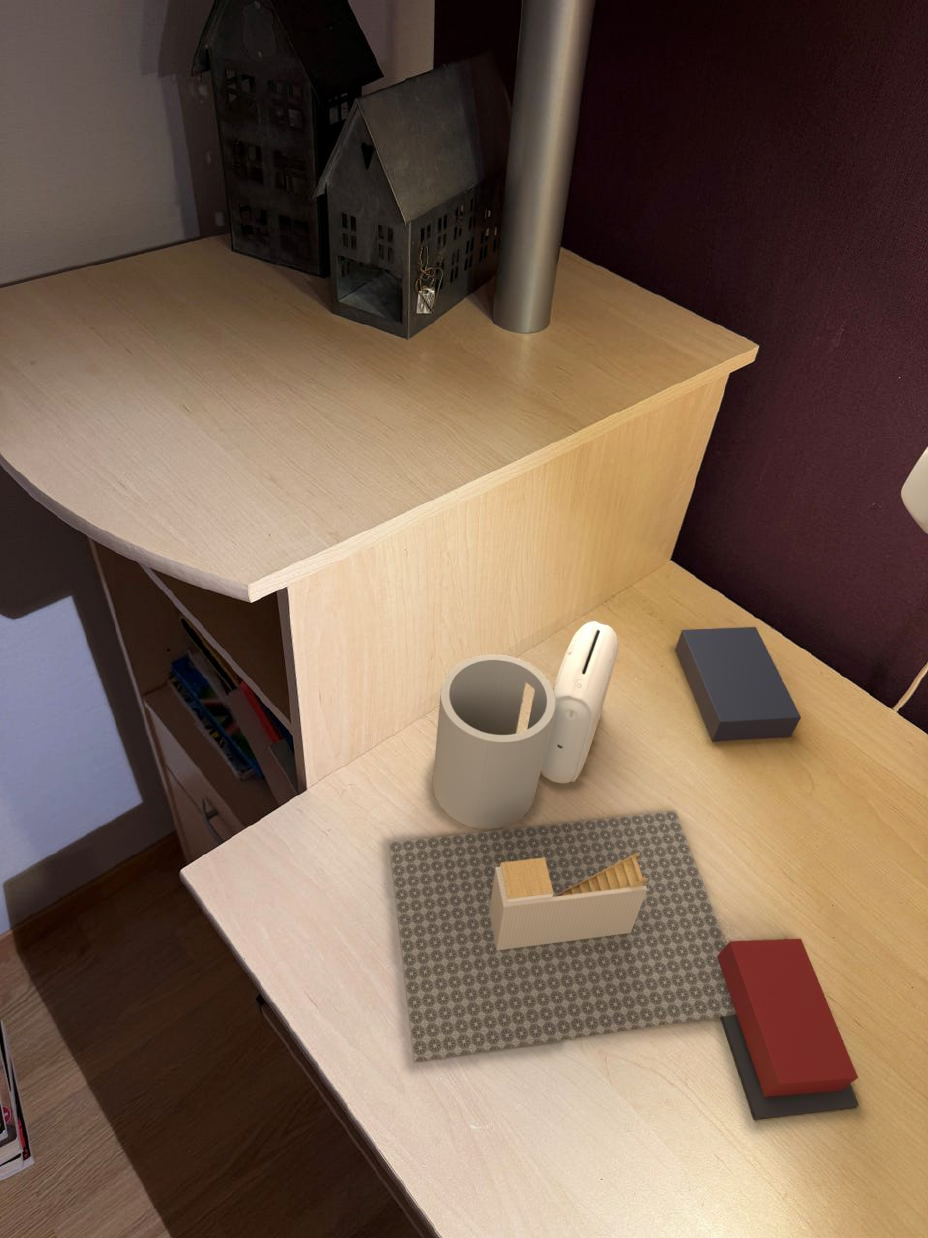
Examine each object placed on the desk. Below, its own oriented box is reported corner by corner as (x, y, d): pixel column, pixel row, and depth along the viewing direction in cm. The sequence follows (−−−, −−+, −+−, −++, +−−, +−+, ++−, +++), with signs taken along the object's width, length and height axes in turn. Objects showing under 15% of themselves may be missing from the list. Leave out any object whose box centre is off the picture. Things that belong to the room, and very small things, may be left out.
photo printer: (576, 792, 80) (602, 701, 72) (530, 776, 81) (550, 685, 73) (603, 709, 87) (629, 618, 79) (560, 696, 88) (581, 604, 80)
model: (489, 911, 71) (496, 860, 66) (619, 895, 73) (636, 844, 68) (496, 950, 69) (504, 901, 64) (630, 933, 71) (649, 883, 65)
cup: (419, 811, 78) (425, 722, 69) (450, 732, 84) (460, 642, 76) (521, 842, 76) (540, 755, 68) (545, 759, 83) (566, 671, 74)
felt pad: (790, 944, 72) (793, 940, 71) (856, 1108, 63) (859, 1105, 63) (699, 952, 70) (701, 949, 70) (753, 1121, 62) (756, 1118, 62)
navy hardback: (674, 649, 94) (681, 629, 92) (747, 646, 95) (755, 626, 93) (711, 742, 86) (720, 721, 84) (791, 737, 87) (801, 717, 85)
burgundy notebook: (716, 956, 69) (729, 941, 67) (786, 953, 70) (801, 938, 69) (764, 1097, 62) (779, 1084, 60) (841, 1091, 63) (858, 1078, 62)
